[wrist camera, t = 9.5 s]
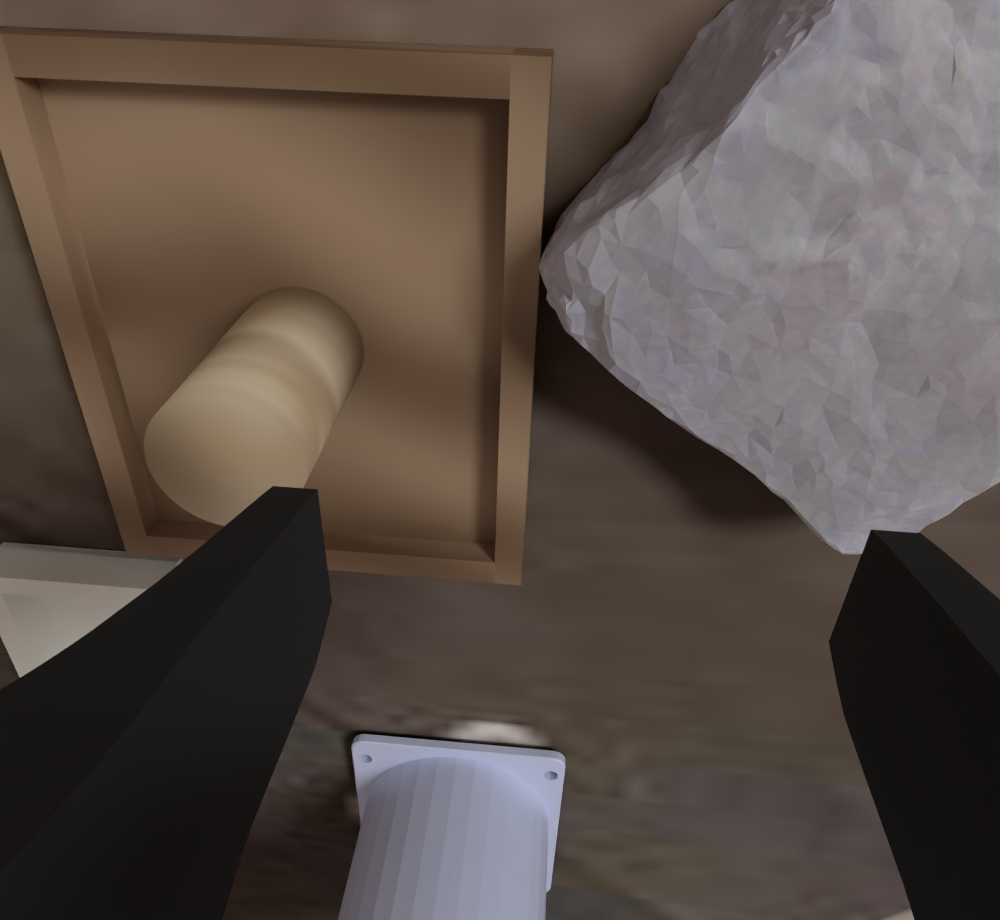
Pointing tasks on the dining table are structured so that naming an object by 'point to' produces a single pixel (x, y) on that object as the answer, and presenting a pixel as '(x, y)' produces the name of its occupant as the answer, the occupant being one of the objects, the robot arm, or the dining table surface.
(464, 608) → the dining table surface
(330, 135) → the tray
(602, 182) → the stone block
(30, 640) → the holder
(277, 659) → the robot arm
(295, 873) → the dining table surface
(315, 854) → the dining table surface
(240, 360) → the dowel
